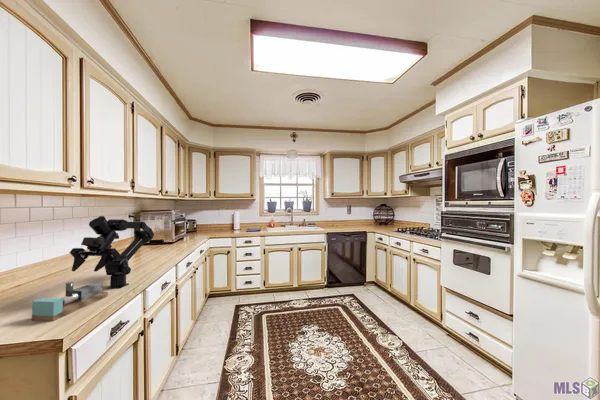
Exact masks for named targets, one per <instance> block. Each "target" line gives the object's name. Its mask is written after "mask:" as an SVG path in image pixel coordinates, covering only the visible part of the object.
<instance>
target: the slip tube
mask: <svg viewBox="0 0 600 400" xmlns="http://www.w3.org/2000/svg"><path fill="white" fill-rule="evenodd" d="M73 290H74V282H73V281H68V282H66V283H65V296H63V297H62V298H63V305H65V304H67V303H70V302H72V301H75V300H77V299H80V298H81V292H76V293H73Z"/></svg>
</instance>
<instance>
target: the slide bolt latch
mask: <svg viewBox="0 0 600 400" xmlns="http://www.w3.org/2000/svg"><path fill="white" fill-rule="evenodd" d="M76 292H81V298H80V299H77V300H75V301H72V302H70V303H67V304H65V305H63V312H61V313H59V314H57V315H54V316H42V315H32V314H31V321H38V322H39V321H43V322H53V321H56V320H58V319H61V318H63V317H66V316H67V315H70V314H72V313H74V312H76V311H78V310H80V309H83V308H85V307H87V306H89V305H91V304H93V303H96V302H98V301H100V300H102V299H104V298H107V297H108V296H109V292H108V291H103V282H91V283H89V284H86V285H83V286H80V287H77V288H75V289H74V288H73V293H76Z"/></svg>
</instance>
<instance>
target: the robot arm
mask: <svg viewBox="0 0 600 400" xmlns="http://www.w3.org/2000/svg"><path fill="white" fill-rule="evenodd" d="M88 226H89V227H90V228H91V230H92V231H93V232H94V233H95V234H96V235H98V236H97V237H92V236H91V237H88V236H87V237H83V240H82V241H81V244H80V245H81V246H86V249H87V250H85V249H84V248H82V247H73V248H72V249H71V250H70V251H69V254H70V255H71V257H73V265H72V268H71V271H72V272H76V271H77V270H78V269H79V268H80V267H81V266H82V265H83V264H84V263H85V262H86V260H87V259H88V258H89V257H100V259H99V260H98V263H97V264H96V266H95V267H94V270H93V272H95V273H97V272H98V271H99V270H101V269H102V268H104V271H105V273H106V276H110V281H109V283H110V284H109V285H110V286H108V287H107V289H117V290H118V289H119V290H120V289H122V288H124V287H127V286H128V285H130V283H127V275H130V274H131V270H132V268H131V267H130V265H129V260H131V258H132V257H134V255H135V254H136V252H138V250H139V249H141V247H142V246H144V244H147V243H149V242H151V241H152V240H153V238H154V236H155V233H154V232H153V228H151V227H150V226H148V225H147V223H146V222H145V221H128V220H126V219H123V218H122V219H121V218H120V219H117V218H115V219H114V218H112V219H111V218H110V219H108V220H107V219H106V217H105V216H104V215H100V216H98V217H96V218H93V219H92V220H90V222H88ZM128 229H134V231H133V234H134V239H133V241H131V243H130V244H129V245H128V246H127V247H126V248H125V249H124V250H123V251H122V252H121V253H120V252H119V251H118V249H116V248H113V247H112V243H113V242H114V241H115V240H117V239H118V240H119V239H120V235H119V233H117V232H122V231H125V230H128ZM139 229H140V230H139Z"/></svg>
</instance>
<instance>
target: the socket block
mask: <svg viewBox="0 0 600 400" xmlns="http://www.w3.org/2000/svg"><path fill="white" fill-rule="evenodd" d="M31 306H32V307H31V316H32V315H42V316H54V315H57V314H59V313H61V312H63V297H60V298H59V297H57V298H56V297H55V298H54V297H53V298H52V297H41V298H38V299H35V300H32V303H31Z"/></svg>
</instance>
